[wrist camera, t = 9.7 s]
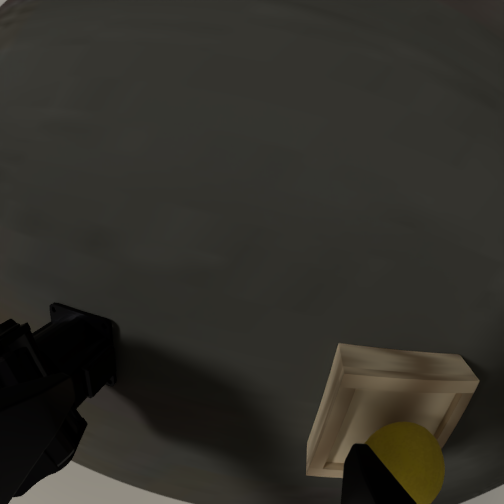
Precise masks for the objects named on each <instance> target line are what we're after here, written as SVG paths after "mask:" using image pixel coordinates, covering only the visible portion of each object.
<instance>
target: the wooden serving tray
mask: <svg viewBox="0 0 504 504" xmlns="http://www.w3.org/2000/svg"><path fill="white" fill-rule="evenodd" d="M478 383H479V379H478V378H477V377H476V375H475V374H474V373H473V371H472V370H471V369H470V367H469V366H468V365H467V363H466V362H465V361H464V360H463V358H462V357H461V356H460V355H459V354H443V353H429V352H416V351H405V350H395V349H385V348H375V347H367V346H358V345H350V344H342V343H338V347H337V350H336V354H335V358H334V361H333V365H332V368H331V371H330V375H329V378H328V381H327V385H326V388H325V391H324V394H323V397H322V401H321V404H320V407H319V410H318V413H317V416H316V419H315V422H314V425H313V427H312V430H311V433H310V436H309V439H308V442H307V465H306V475H308V476H320V477H335V478H343V467H344V462H345V459H346V457H347V455H348V453H349V451H350V449H351V447H352V445H353V444H355V443H362V444H364V443H365V442H366V441H367V440H368V438H369V437H370V436H371V435H372V434H373V433H375V432H376V431H377V430H379V429H380V428H382V427H384V426H386V425H389V424H391V423H396V422H412V423H416V424H418V425H421V426H423V427H425V428H426V429H427V430H428V431H429V432H430V433H431V434H432V435H433V436H434V437H435V438H436V440H437V441H438V443H439V445H440V448H441V449H442V448H443V446H444V445H445V443H446V441H447V440H448V438H449V437H450V435H451V433H452V432H453V430H454V428H455V427H456V425H457V423H458V421H459V420H460V418H461V416H462V414H463V412H464V411H465V409H466V407H467V405H468V403H469V401H470V399H471V397H472V396H473V394H474V392H475V390H476V388H477V386H478Z"/></svg>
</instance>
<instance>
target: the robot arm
mask: <svg viewBox="0 0 504 504" xmlns="http://www.w3.org/2000/svg"><path fill="white" fill-rule="evenodd" d="M55 309H56V310H55ZM50 315H51V322H49V323H48V324H46V325H45V326H43V327H42V328H40V329H38V330H37V331H35V332H34V333H31V331H30V329H31V328H30V326H29V324H28V322H27V323H25V324H22V325H20V324H18V323H16V322H15V321H14V320H12V319H9V320H7V321H5V322H4V323H2V324H0V504H8V503H9V502H10V500H11V499H12V497H18V496H22V495H23V494H25V493H26V492H27V491H28V490H29V489H30V488H31V487H32V486H33V485H35V484H36V483H37V482H38V481H40V480H41V479H43V478H45V477H46V476H48V475H51V474H53V473H56V472H58V471H60V470H61V469H62V468H64V467H65V466H66V465H67V464H68V463H69V462H70V461H71V460H72V458H73V456H74V454H75V452H76V449H77V447H78V445H79V442H80V440H81V438H82V435H83V433H84V431H85V429H86V426H87V422H86V421H85V419H84V418H82V417H81V415H80V414H79V413H78V411H77V410H76V409H77V408H78V407H79V405H80V404H81V403H82V402H83V401H84V400H85V399H86V398H87V397H89V398H92V397H94V396H95V394H96V393H97V392H98V391H99V390H100V389H101V388H102V387H103V386H104V385H105V384H106V385H108V386H114V385H115V384H116V363H115V351H114V347H113V336H112V324H111V322H110V321H109V320H108V319H106V318H103V317H99V316H96V315H93V314H89V313H86V312H83V311H80V310H77V309H74V308H71V307H68V306H65V305H62V304H59V303H55V302H54V303H53V304H51V305H50ZM104 324H106V326H107V327H106V326H105V325H104ZM110 380H111V381H110ZM341 504H417V503H416V502H415V501H414V499H413V498H412V497H411V496H410V495H409V494H408V492H407V491H406V490H405V489H404V488H403V486H402V485H401V484H400V483H399V482H398V480H397V479H396V478H395V477H394V476H393V474H392V473H391V472H390V471H389V470H388V468H387V467H386V466H385V465H384V464H383V462H382V461H381V460H380V459H379V458H378V456H377V455H376V454H375V453H374V451H373V450H372V449H371V448H370V447H369V445H367V444H362V443H355V444H353V445H352V447H351V449H350V451H349V453H348V455H347V457H346V459H345V462H344V467H343V483H342V496H341Z"/></svg>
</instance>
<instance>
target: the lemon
mask: <svg viewBox="0 0 504 504" xmlns="http://www.w3.org/2000/svg"><path fill="white" fill-rule="evenodd" d="M364 444H367V445H369V447H370V448H371V449H372V450H373V451H374V453H375V454H376V455H377V456H378V458H379V459H380V460H381V461H382V462H383V464H384V465H385V466H386V467H387V468H388V470H389V471H390V472H391V473H392V474H393V476H394V477H395V478H396V479H397V480H398V482H399V483H400V484H401V485H402V486H403V488H404V489H405V490H406V491H407V492H408V494H409V495H410V496H411V497H412V498H413V499H414V501H415V502H416V503H417V504H430V503H431V502H432V501H433V500H434V499H435V498H436V496H437V495H438V493H439V491H440V490H441V487H442V484H443V480H444V472H445V467H444V459H443V455H442V451H441V448H440V445H439V443H438V441H437V440H436V438H435V437H434V436H433V435H432V434H431V433H430V432H429V431H428V430H427V429H426V428H425V427H423V426H421V425H418V424H416V423H412V422H396V423H391V424H389V425H386V426H384V427H382V428H380V429H379V430H377V431H376V432H375V433H373V434H372V435H371V436H370V437H369V438H368V440H367V441H366V442H365V443H364Z"/></svg>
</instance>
